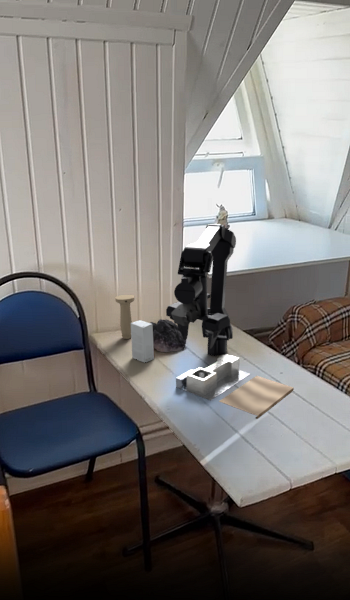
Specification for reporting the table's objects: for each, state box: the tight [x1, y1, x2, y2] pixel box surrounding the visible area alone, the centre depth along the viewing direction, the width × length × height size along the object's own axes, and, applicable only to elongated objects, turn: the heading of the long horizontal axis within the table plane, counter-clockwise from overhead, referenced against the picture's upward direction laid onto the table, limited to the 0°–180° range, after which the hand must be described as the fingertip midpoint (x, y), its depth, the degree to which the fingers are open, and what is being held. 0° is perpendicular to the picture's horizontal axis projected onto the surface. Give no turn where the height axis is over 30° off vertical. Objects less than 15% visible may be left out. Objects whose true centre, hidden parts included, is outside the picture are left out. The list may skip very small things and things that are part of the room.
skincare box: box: [130, 319, 155, 363], centre depth 174 cm, size 6×4×12 cm
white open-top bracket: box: [187, 353, 240, 395], centre depth 158 cm, size 18×6×4 cm, turn 140°
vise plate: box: [175, 368, 251, 402], centre depth 158 cm, size 20×12×6 cm, turn 140°
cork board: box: [218, 375, 295, 420], centre depth 151 cm, size 19×12×1 cm, turn 140°
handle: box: [114, 294, 135, 340], centre depth 190 cm, size 5×6×15 cm
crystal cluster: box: [149, 319, 187, 353], centre depth 185 cm, size 13×14×10 cm
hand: (197, 343), depth 155 cm, fingers open, 9 cm apart
